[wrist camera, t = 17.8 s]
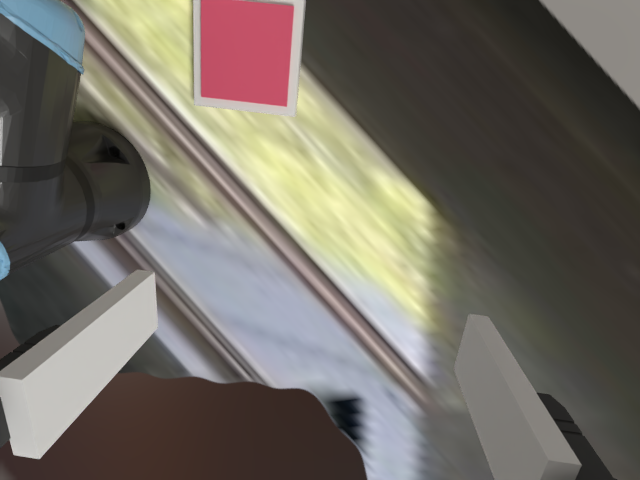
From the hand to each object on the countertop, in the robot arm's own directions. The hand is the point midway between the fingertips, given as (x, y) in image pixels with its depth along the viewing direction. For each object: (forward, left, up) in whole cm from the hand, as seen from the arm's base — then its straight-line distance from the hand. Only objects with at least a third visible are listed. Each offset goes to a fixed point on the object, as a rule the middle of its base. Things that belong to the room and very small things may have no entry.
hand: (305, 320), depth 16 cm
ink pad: (-12, +13, -33) cm, 37 cm away
